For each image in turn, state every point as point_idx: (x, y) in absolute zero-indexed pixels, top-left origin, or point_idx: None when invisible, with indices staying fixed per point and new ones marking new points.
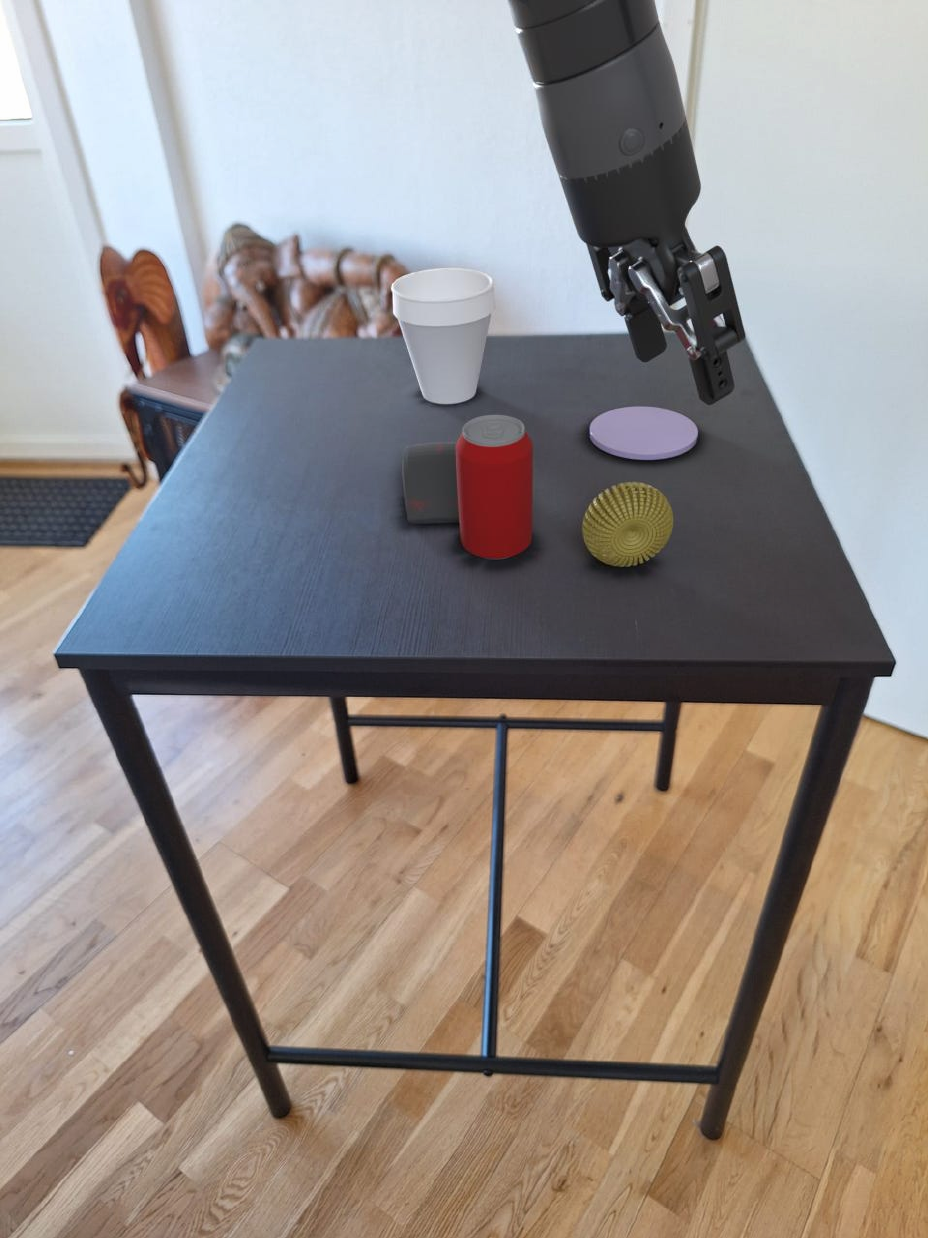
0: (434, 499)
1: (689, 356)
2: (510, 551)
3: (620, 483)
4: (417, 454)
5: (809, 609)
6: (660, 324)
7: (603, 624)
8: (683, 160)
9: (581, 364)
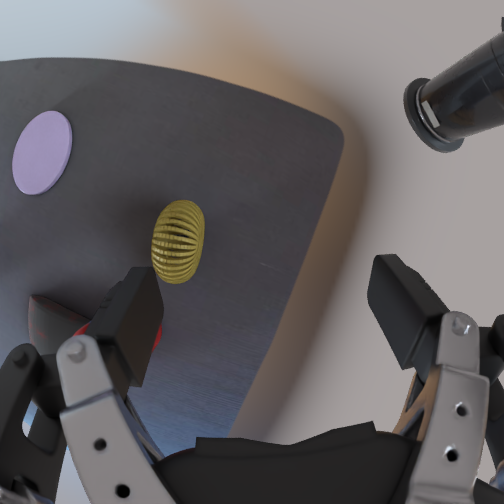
0: None
1: (403, 368)
2: (160, 327)
3: (156, 250)
4: (47, 352)
5: (291, 136)
6: (134, 299)
7: (256, 287)
8: None
9: None
